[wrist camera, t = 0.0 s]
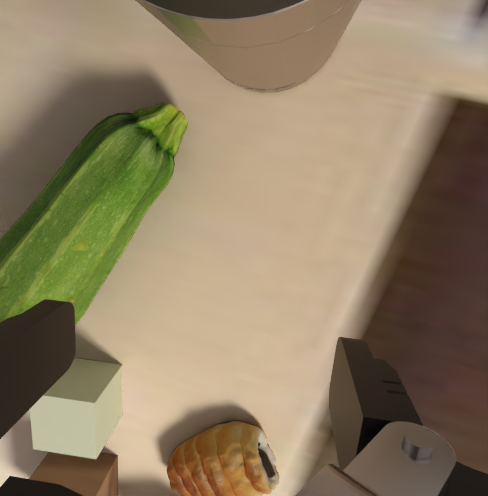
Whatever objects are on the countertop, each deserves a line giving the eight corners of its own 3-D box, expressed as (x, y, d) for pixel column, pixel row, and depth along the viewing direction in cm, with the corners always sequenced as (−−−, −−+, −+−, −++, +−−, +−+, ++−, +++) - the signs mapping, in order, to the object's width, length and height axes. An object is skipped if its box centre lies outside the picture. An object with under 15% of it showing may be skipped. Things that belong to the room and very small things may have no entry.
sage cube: (65, 356, 33) (28, 393, 28) (122, 364, 33) (94, 403, 28) (68, 405, 35) (33, 449, 30) (123, 414, 34) (96, 459, 30)
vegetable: (-71, 345, 24) (118, 73, 19) (-33, 275, 30) (118, 52, 24) (47, 380, 28) (231, 163, 22) (60, 311, 34) (209, 126, 28)
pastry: (188, 493, 36) (177, 533, 33) (158, 434, 35) (142, 469, 31) (285, 471, 34) (284, 511, 31) (256, 408, 33) (252, 442, 29)
